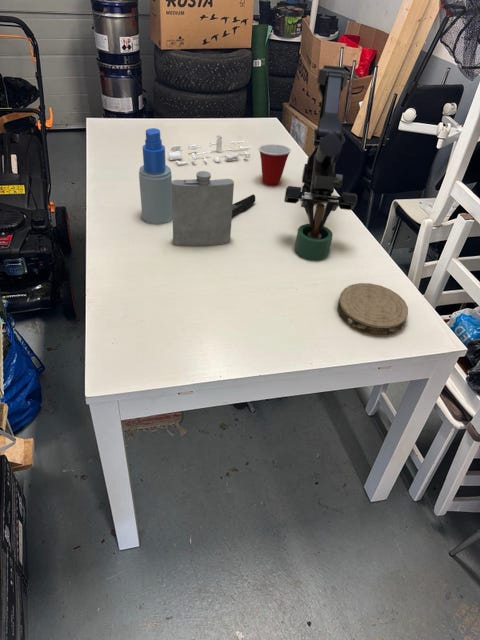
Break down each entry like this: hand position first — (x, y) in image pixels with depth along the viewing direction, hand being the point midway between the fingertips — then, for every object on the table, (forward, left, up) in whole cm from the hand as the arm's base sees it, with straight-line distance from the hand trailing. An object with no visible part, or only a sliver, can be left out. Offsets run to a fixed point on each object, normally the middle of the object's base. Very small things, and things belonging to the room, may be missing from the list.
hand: (316, 229), depth 122 cm
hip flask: (+25, -17, -8) cm, 31 cm away
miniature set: (-3, -69, -8) cm, 70 cm away
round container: (-1, -1, -8) cm, 8 cm away
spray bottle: (+31, -35, -8) cm, 48 cm away
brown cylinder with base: (-1, -1, -7) cm, 7 cm away
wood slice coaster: (+2, +27, -8) cm, 28 cm away
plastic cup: (-14, -43, -8) cm, 46 cm away
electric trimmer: (+7, -29, -8) cm, 31 cm away
